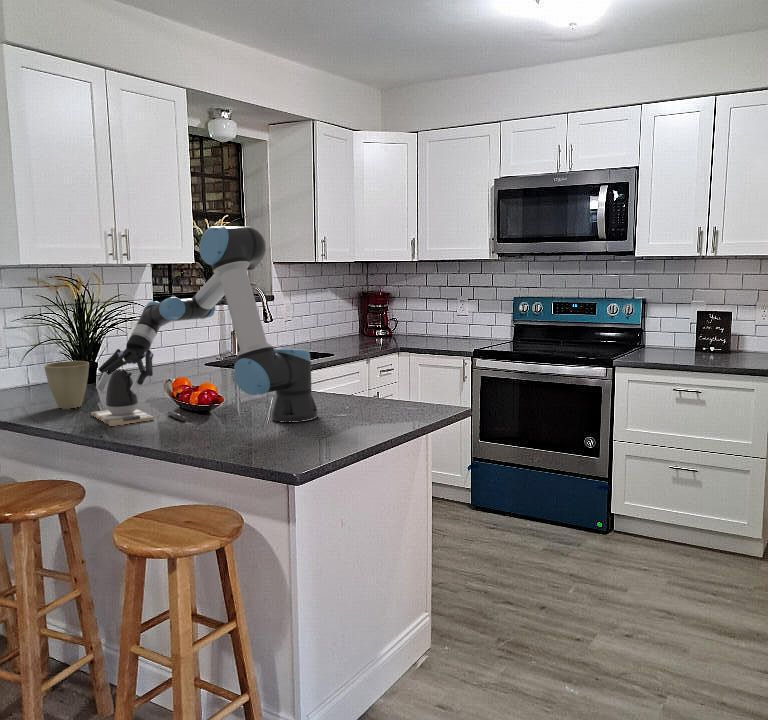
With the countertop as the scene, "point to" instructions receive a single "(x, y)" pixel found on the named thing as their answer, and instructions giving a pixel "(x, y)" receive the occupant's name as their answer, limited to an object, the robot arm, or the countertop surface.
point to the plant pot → (68, 382)
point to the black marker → (177, 416)
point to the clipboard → (121, 417)
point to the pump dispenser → (121, 394)
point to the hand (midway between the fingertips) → (115, 391)
